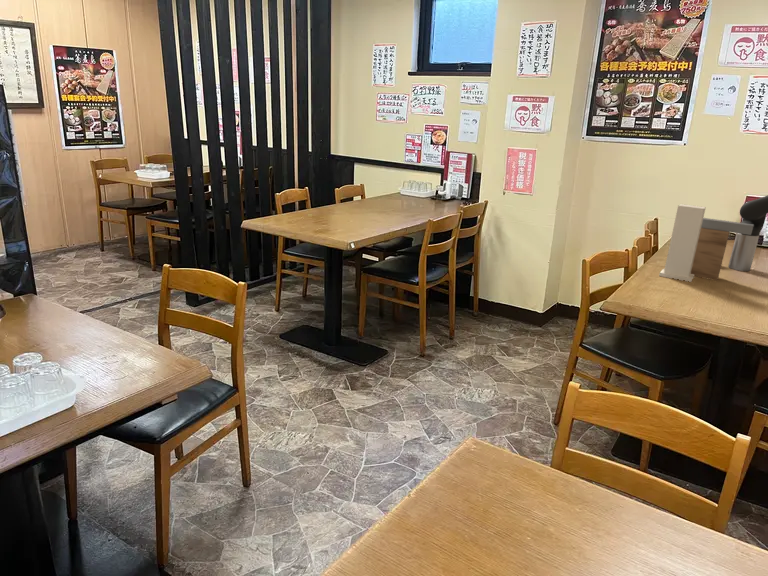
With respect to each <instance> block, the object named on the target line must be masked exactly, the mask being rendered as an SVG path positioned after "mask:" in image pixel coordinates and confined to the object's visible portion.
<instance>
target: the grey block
mask: <svg viewBox="0 0 768 576" xmlns="http://www.w3.org/2000/svg"><path fill="white" fill-rule="evenodd" d="M753 225H754V224H746V223H741V222H738V221H730V220H722V219H718V218H717V219H715V218H708V217H703V222H702V226H701V228H706V229H713V230H720V231H727V232H729V233H735V234H737V233H740V234H747V235H751V233H752V229H753Z"/></svg>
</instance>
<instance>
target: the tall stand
mask: <svg viewBox="0 0 768 576" xmlns="http://www.w3.org/2000/svg"><path fill="white" fill-rule="evenodd" d="M705 212H706V206H699V205H692V204H683V203H680V204H679V205H677V210H676V212H675V218H674V224H673V228H672V231H671V232H672V233H671V238H670V243H669V248H668V252H667V256H666V261H665V266H664V268H662V269H661V270H660V272H659V277H663V278H668V279H672V278H674V279H673V280H677V279H679V281H683V280H685V281H684V282H688V281H689V282H690V283H692V281H693V280H692V279H694V278H695V276H694V274H691V270H692V265H693V261H694V257H695V252H696V248H697V243H698V239H699V235H700V230H701V226H702V222H703V218H705V217H704V216H705ZM689 282H688V283H689Z"/></svg>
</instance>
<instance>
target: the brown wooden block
mask: <svg viewBox="0 0 768 576" xmlns="http://www.w3.org/2000/svg"><path fill="white" fill-rule="evenodd" d="M729 235H730V232H727V231H720V230H713V229H706V228H701V230H700V235H699V239H698V243H697V248H696V252H695V257H694V261H693V265H692V270H691V274H694V277H696V276H698V277H697V278H701V277H703V278H702V279H707V278H708V279H709V280H712V279H713V280H714V281H718V280H719V276H720V273H721V272H720V271H721V269H722V265H723V260H724V256H725V253H726V248H727V244H728V240H729ZM713 280H712V281H713Z"/></svg>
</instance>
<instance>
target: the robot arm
mask: <svg viewBox="0 0 768 576" xmlns="http://www.w3.org/2000/svg"><path fill="white" fill-rule="evenodd" d="M767 214H768V195H765V196H763V197H759V198H755V199H753V200H749V201H746V202H744V204H742V206H741V207H740V208H739V215H740V217H741V218H742V220H741V222H740V223H746V224H754V225H753V229H752V233H751V235H747V234H740V233H735V239H734V243H733V246H732V251H731V254H730V258H729V262H728V269H732V270H735V271H740V272H741V271H743V272H750V271H751V268H752V264H753V261H754V257H755V253H756V250H757V249H756V248H757V246H758V243H759V238H760V234H761V231H762V230H763V228H764V225H765V221H766V218H767Z"/></svg>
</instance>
